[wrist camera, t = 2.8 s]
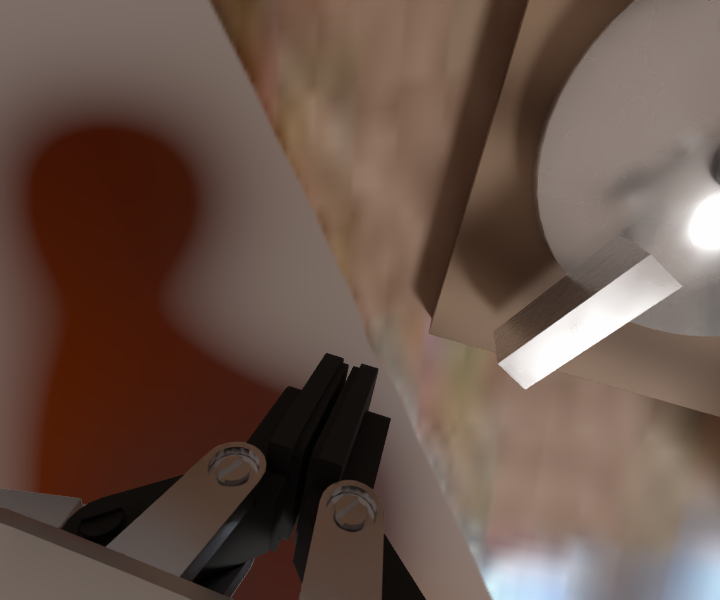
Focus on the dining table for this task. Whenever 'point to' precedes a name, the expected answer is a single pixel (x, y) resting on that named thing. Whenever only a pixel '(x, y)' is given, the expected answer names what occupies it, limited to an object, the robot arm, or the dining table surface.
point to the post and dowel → (717, 170)
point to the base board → (523, 237)
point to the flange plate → (628, 189)
